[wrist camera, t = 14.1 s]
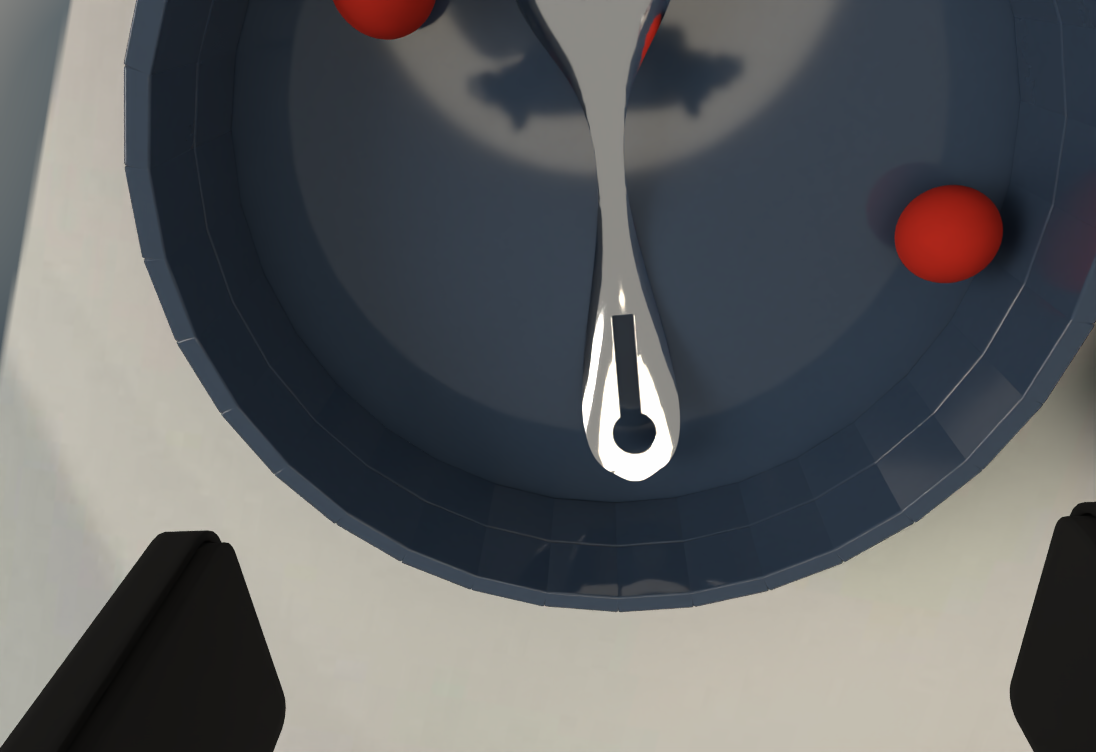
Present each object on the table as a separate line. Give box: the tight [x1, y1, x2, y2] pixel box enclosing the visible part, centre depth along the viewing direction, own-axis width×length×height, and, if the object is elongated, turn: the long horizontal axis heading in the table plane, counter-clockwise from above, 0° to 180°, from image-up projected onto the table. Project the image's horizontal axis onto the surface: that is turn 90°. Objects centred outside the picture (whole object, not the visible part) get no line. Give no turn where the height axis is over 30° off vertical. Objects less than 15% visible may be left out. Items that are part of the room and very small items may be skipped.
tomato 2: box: [895, 185, 1003, 283], centre depth 25 cm, size 3×3×3 cm
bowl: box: [124, 0, 1096, 612], centre depth 24 cm, size 26×26×6 cm
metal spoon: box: [515, 0, 680, 481], centre depth 25 cm, size 20×4×5 cm
